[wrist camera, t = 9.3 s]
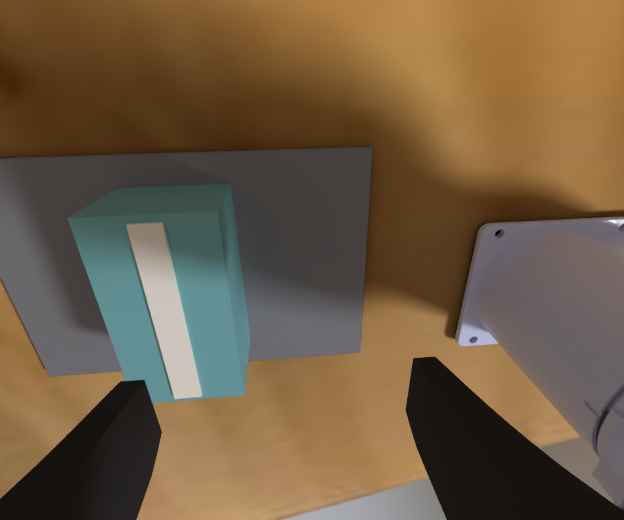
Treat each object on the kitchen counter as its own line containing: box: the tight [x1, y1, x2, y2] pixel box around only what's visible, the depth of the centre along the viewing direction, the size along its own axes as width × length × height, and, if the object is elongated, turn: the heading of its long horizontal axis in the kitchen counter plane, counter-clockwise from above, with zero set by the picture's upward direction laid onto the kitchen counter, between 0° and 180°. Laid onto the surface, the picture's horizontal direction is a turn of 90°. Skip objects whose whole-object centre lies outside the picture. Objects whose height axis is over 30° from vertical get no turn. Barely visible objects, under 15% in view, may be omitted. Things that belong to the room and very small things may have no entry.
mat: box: [0, 146, 373, 377], centre depth 17 cm, size 18×12×1 cm, turn 91°
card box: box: [67, 184, 250, 403], centre depth 15 cm, size 9×5×4 cm, turn 1°
